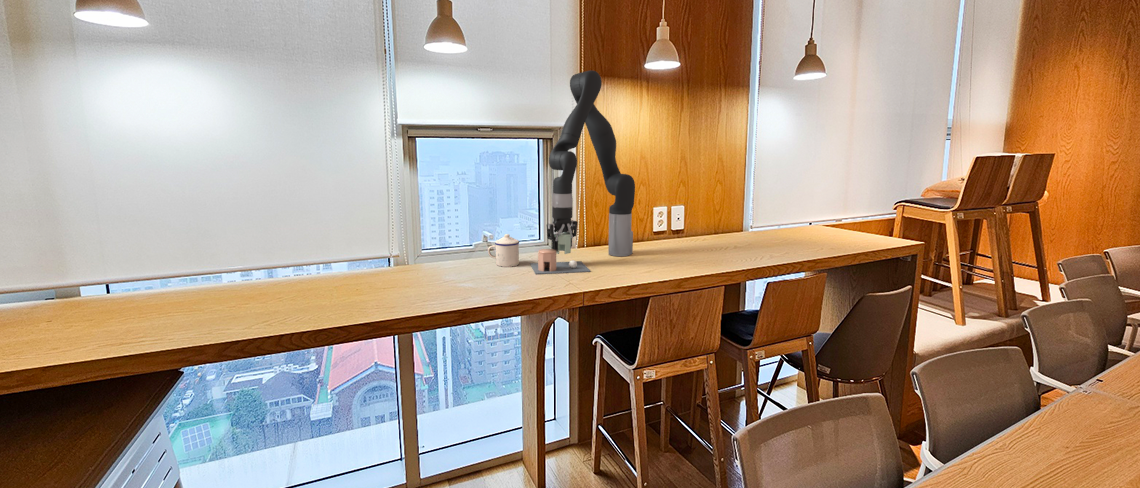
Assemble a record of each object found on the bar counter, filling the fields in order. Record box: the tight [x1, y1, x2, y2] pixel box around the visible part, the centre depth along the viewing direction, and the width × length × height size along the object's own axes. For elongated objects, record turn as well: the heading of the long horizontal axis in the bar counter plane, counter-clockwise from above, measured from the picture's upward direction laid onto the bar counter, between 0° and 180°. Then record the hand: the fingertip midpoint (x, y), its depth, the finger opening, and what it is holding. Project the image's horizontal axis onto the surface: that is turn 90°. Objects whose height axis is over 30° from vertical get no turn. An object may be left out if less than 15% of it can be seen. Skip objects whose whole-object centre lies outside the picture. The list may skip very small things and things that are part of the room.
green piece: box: [555, 232, 572, 255], centre depth 206 cm, size 6×6×7 cm
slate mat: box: [529, 260, 592, 275], centre depth 204 cm, size 20×16×1 cm
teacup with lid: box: [487, 233, 520, 268], centre depth 208 cm, size 12×9×12 cm
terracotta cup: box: [537, 248, 557, 272], centre depth 199 cm, size 6×6×7 cm
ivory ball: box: [568, 259, 577, 268], centre depth 201 cm, size 3×3×3 cm
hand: (562, 249), depth 207 cm, fingers closed on green piece, 6 cm apart
